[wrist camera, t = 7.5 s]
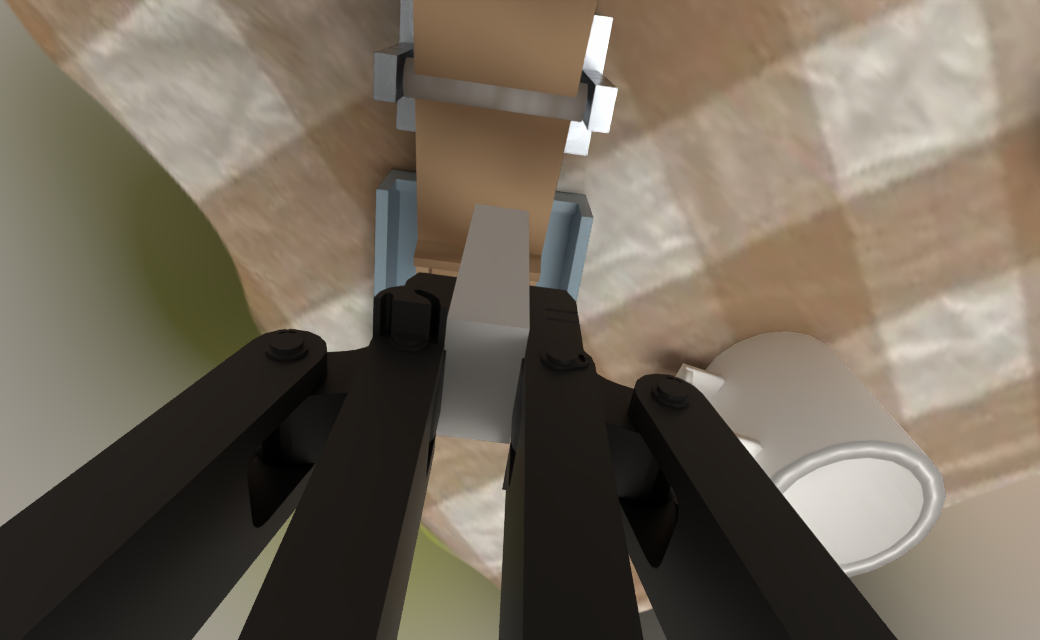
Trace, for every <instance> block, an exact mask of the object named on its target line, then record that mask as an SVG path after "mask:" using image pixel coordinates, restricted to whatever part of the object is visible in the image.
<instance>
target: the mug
mask: <svg viewBox="0 0 1040 640" xmlns="http://www.w3.org/2000/svg"><path fill="white" fill-rule="evenodd" d="M675 377H678V378H681V379H683V380H684V381H686V382H688V383H690V384H692V385H694V386H695V387H696V388H697V389H698V390H699V391H700V392H702V393H703V394H704V396H705V397H706V398H707V399H708V401H709V402H710V403H711V404H712V406H713V407H714V408H715V410H716V411H717V412H718V413H719V415H720V416H721V417H722V418H723V420H724V421H725V422H726V423H727V425H728V426H729V427H730V428H731V430H732V431H733V432H734V434H735V435H736V436H737V437H738V439H739V440H740V441H741V442H742V444H743V445H744V446H745V447H746V449H747V450H748V451H749V453H750V454H751V455H752V456H753V458H754V459H755V460H756V461H757V463H758V464H759V465H760V466H761V468H762V469H763V470H764V471H765V473H766V474H767V475H768V477H769V478H770V479H771V480H772V482H773V483H774V484H775V485H776V487H777V488H778V489H779V490H780V492H781V493H782V494H783V495H784V497H785V498H786V499H787V501H788V502H789V503H790V504H791V506H792V507H793V508H794V509H795V511H796V512H797V513H798V514H799V516H800V517H801V518H802V519H803V521H804V522H805V523H806V525H807V526H808V527H809V528H810V530H811V531H812V532H813V533H814V535H815V536H816V537H817V538H818V540H819V541H820V542H821V543H822V545H823V546H824V547H825V549H826V550H827V551H828V552H829V554H830V555H831V556H832V557H833V559H834V560H835V561H836V562H837V564H838V565H839V566H840V567H841V569H842V570H843V571H844V573H845V574H846V575H847V576H848V577H852V576H855V575H859V574H863V573H866V572H870V571H873V570H876V569H878V568H880V567H882V566H884V565H886V564H888V563H890V562H892V561H894V560H896V559H898V558H900V557H902V556H903V555H904V554H905V553H907V552H908V551H909V550H910V549H912V548H913V547H914V546H915V545H917V544H918V543H919V542H921V541H922V540H923V539H924V538H925V537H926V535H927V534H928V532H929V531H930V530H931V528H932V527H933V526H934V524H935V523H936V522H937V520H938V519H939V517H940V514H941V510H942V507H943V504H944V500H945V497H946V494H945V488H944V482H943V476H942V474H941V472H940V471H939V470H938V469H937V467H936V466H935V465H934V464H933V462H932V461H931V460H930V459H929V457H928V456H927V455H926V454H925V453H924V452H923V450H922V449H921V448H920V447H919V446H918V445H917V444H916V443H915V442H914V440H913V439H912V438H911V437H910V436H909V435H908V434H907V433H906V431H905V430H904V429H903V428H902V427H901V426H900V425H899V424H898V423H897V421H896V420H895V419H894V418H893V417H892V416H891V415H890V414H889V412H888V411H887V410H886V409H885V408H884V407H883V406H882V405H881V404H880V402H879V401H878V400H877V399H876V398H875V397H874V396H873V395H872V393H871V392H870V391H869V390H868V389H867V388H866V387H865V386H864V384H863V383H862V382H861V381H860V380H859V379H858V378H857V377H856V376H855V374H854V373H853V372H852V371H851V370H850V369H849V368H848V367H847V365H846V364H845V363H844V362H843V361H842V360H841V359H840V358H839V357H838V355H837V354H836V353H835V352H834V351H833V350H832V349H831V348H830V346H829V345H827V344H825V343H823V342H822V341H820V340H818V339H816V338H814V337H812V336H811V335H807V334H801V333H796V332H790V331H780V332H771V333H761V334H758V335H756V336H753V337H750V338H748V339H745V340H742V341H740V342H737V343H735V344H734V345H732V346H731V347H730V348H728V349H727V350H725V351H724V352H722V353H721V354H719V355H718V356H717V357H715V359H714V360H713V361H712V362H711V363H710V365H709V366H708V367H707V368H706V369H705V370H703V369H700V368H697V367H694V366H691V365H687V364H684V363H683V364H682V366H681V368H680V369H679V371H678V373H677V375H676V376H675Z"/></svg>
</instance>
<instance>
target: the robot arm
mask: <svg viewBox="0 0 1040 640" xmlns="http://www.w3.org/2000/svg"><path fill="white" fill-rule="evenodd" d="M577 314H578V311H577V305H576V301H575V300H574V299H573V297H572V296H571V295H570V294H569V293H568V292H567V291H566V290H561V289H553V288H546V287H539V286H531V285H529V211H524V210H517V209H510V208H503V207H496V206H489V205H482V204H475V208H474V212H473V216H472V220H471V224H470V228H469V232H468V236H467V240H466V244H465V248H464V252H463V256H462V260H461V264H460V268H459V272H458V276H457V277H453V276H445V275H438V274H430V273H423V272H419V273H417V274H416V275H414V276H412V277H411V278H409V279H408V280H407V281H406V283H405V285H402V286H395V287H389V288H387V289H384V290H382V291H380V292H379V293H378V294H377V295H376V296H375V297H374V308H373V337H372V340H371V342H370V344H369V346H367V347H365V348H361V349H357V350H350V351H340V352H327V347H326V342H325V341H324V340H323V339H322V338H321V337H320V336H318V335H316V334H313V333H311V332H308V331H302V330H296V329H289V330H287V329H283V330H277V331H273V332H269V333H265V334H263V335H261V336H259V337H257V338H255V339H254V340H252V341H251V342H249V343H248V344H247V345H245V346H244V347H243V348H241V349H240V350H239V351H237V352H236V353H235V354H233V355H232V356H231V357H229V358H228V359H226V360H225V361H224V362H222V363H221V364H220V365H218V366H217V367H216V368H214V369H213V370H211V371H210V372H209V373H207V374H206V375H205V376H203V377H202V378H201V379H199V380H198V381H197V382H195V383H194V384H193V385H191V386H190V387H188V388H187V389H186V390H185V391H183V392H182V393H180V394H179V395H178V396H176V397H175V398H174V399H173V400H171V401H170V402H168V403H167V404H166V405H164V406H163V407H162V408H160V409H159V410H157V411H156V412H155V413H153V414H152V415H151V416H149V417H148V418H147V419H145V420H144V421H143V422H141V423H140V424H139V425H137V426H136V427H135V428H133V429H132V430H131V431H129V432H128V433H126V434H125V435H124V436H122V437H121V438H120V439H118V440H117V441H116V442H114V443H113V444H112V445H110V446H109V447H108V448H106V449H105V450H104V451H102V452H101V453H99V454H98V455H97V456H96V457H94V458H93V459H92V460H90V461H89V462H87V463H86V464H85V465H83V466H82V467H81V468H79V469H78V470H77V471H75V472H74V473H72V474H71V475H70V476H68V477H67V478H66V479H64V480H63V481H62V482H60V483H59V484H58V485H56V486H55V487H54V488H52V489H51V490H50V491H48V492H47V493H45V494H44V495H43V496H41V497H40V498H39V499H37V500H36V501H35V502H33V503H32V504H31V505H29V506H28V507H27V508H25V509H24V510H22V511H21V512H20V513H18V514H17V515H16V516H14V517H13V518H12V519H10V520H9V521H8V522H6V523H5V524H4V525H2V526H1V527H0V640H192V638H193V637H194V636H195V635H196V633H197V632H198V631H199V630H200V628H201V627H202V626H203V625H204V623H205V622H206V621H207V620H208V618H209V617H210V616H211V615H212V613H213V612H214V611H215V610H216V608H217V607H218V606H219V605H220V603H221V602H222V601H223V600H224V598H225V597H226V596H227V595H228V593H229V592H230V591H231V589H232V588H233V587H234V585H235V584H236V583H237V582H238V581H239V579H240V578H241V577H242V576H243V574H244V573H245V572H246V571H247V569H248V568H249V567H250V565H251V564H252V563H253V562H254V561H255V559H256V558H257V557H258V556H259V554H260V553H261V552H262V551H263V549H264V548H265V547H266V546H267V544H268V543H269V542H270V541H271V539H272V538H273V537H274V536H275V534H276V533H277V532H278V531H279V529H280V528H281V527H282V525H283V524H284V523H285V522H286V520H287V519H288V518H289V517H290V515H291V514H292V513H293V511H294V510H295V509H296V510H295V513H294V515H293V517H292V520H291V522H290V524H289V526H288V528H287V531H286V533H285V535H284V537H283V540H282V542H281V544H280V546H279V548H278V551H277V553H276V555H275V557H274V560H273V562H272V564H271V567H270V569H269V571H268V573H267V575H266V578H265V580H264V582H263V584H262V587H261V589H260V591H259V594H258V596H257V598H256V600H255V602H254V605H253V607H252V609H251V611H250V614H249V616H248V618H247V620H246V623H245V625H244V627H243V629H242V632H241V634H240V636H239V639H238V640H397V635H398V630H399V625H400V620H401V615H402V610H403V605H404V600H405V595H406V590H407V585H408V580H409V575H410V570H411V565H412V560H413V555H414V550H415V545H416V540H417V535H418V530H419V525H420V520H421V515H422V510H423V505H424V500H425V495H426V490H427V485H428V480H429V475H430V470H431V465H432V460H433V455H434V448H435V437H436V435H440V436H449V437H457V438H466V439H474V440H482V441H491V442H499V443H508V444H509V443H510V438H511V443H510V449H509V454H508V460H507V466H506V471H505V477H504V483H503V488H502V490H506V499H505V520H504V541H503V561H502V582H501V603H500V624H499V640H643V635H642V630H641V623H640V618H639V612H638V606H637V601H636V595H635V589H634V583H633V578H632V572H631V566H630V561H629V556H630V558H631V561H632V563H633V565H634V567H635V569H636V572H637V574H638V576H639V578H640V581H641V583H642V585H643V587H644V589H645V592H646V594H647V596H648V598H649V601H650V603H651V605H652V607H653V610H654V612H655V613H656V616H657V618H658V621H659V623H660V625H661V627H662V630H663V632H664V634H665V636H666V638H667V640H897V638H896V637H895V636H894V634H893V633H892V632H891V631H890V630H889V628H888V627H887V626H886V624H885V623H884V622H883V621H882V619H881V618H880V617H879V616H878V614H877V613H876V612H875V611H874V609H873V608H872V607H871V605H870V604H869V603H868V602H867V600H866V599H865V598H864V597H863V595H862V594H861V593H860V591H859V590H858V589H857V588H856V586H855V585H854V584H853V583H852V582H851V580H850V579H849V578H848V576H847V575H846V574H845V573H844V571H843V570H842V569H841V567H840V566H839V565H838V564H837V562H836V561H835V560H834V559H833V557H832V556H831V555H830V554H829V552H828V551H827V550H826V549H825V547H824V546H823V545H822V543H821V542H820V541H819V540H818V538H817V537H816V536H815V535H814V533H813V532H812V531H811V530H810V528H809V527H808V526H807V525H806V523H805V522H804V521H803V519H802V518H801V517H800V516H799V514H798V513H797V512H796V511H795V509H794V508H793V507H792V506H791V504H790V503H789V502H788V501H787V499H786V498H785V497H784V495H783V494H782V493H781V492H780V490H779V489H778V488H777V487H776V485H775V484H774V483H773V482H772V480H771V479H770V478H769V477H768V475H767V474H766V473H765V471H764V470H763V469H762V468H761V466H760V465H759V464H758V463H757V461H756V460H755V459H754V458H753V456H752V455H751V454H750V453H749V451H748V450H747V449H746V447H745V446H744V445H743V444H742V442H741V441H740V440H739V439H738V437H737V436H736V435H735V434H734V432H733V431H732V430H731V428H730V427H729V426H728V425H727V423H726V422H725V421H724V420H723V418H722V417H721V416H720V415H719V413H718V412H717V411H716V410H715V408H714V407H713V406H712V404H711V403H710V402H709V401H708V399H707V398H706V397H705V396H704V394H703V393H702V392H700V391H699V390H698V389H697V388H696V387H695V386H694V385H692V384H690V383H688V382H686V381H684V380H683V379H681V378H678V377H674V376H671V375H664V374H650V375H644V376H643V377H641V378H640V379H638V380H637V382H636V384H635V387H634V389H632V388H629V387H626V386H623V385H620V384H617V383H615V382H612V381H610V380H607V379H605V378H604V377H602V376H600V375H598V374H597V373H596V367H595V364H594V362H593V360H592V358H591V356H589V355H588V354H587V353H586V352H585V351H584V350H583V343H582V337H581V330H580V324H579V318H578V315H577ZM628 554H629V555H628Z"/></svg>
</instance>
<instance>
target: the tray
mask: <svg viewBox="0 0 1040 640" xmlns="http://www.w3.org/2000/svg"><path fill="white" fill-rule="evenodd" d="M592 223H593V215H592V212H591V209H590V206H589V203H588V200H587V197H586V195H579V194H572V193H565V192H557V191H556V192H555V196H554V201H553V205H552V210H551V214H550V219H549V223H548V228H547V232H546V237H545V242H544V246H543V251H542V255H541V274H540V278H539V282H536V286H539V287H546V288H553V289H561V290H566V291H567V292H568V293H569V294H570V295H571V296H572V297H573V299H574V300H575V301H577V296H578V291H579V286H580V281H581V277H582V272H583V267H584V262H585V257H586V252H587V247H588V242H589V237H590V233H591V228H592ZM417 240H418V231H417V179H416V172H410V171H403V170H395V169H392V170H391V171H390V172H389V173H388V175H387V176H386V177H385V179H384V180H383V181H382V182H381V184H380V185H379V186H378V188H377V189H376V229H375V278H374V297H375V296H376V295H377V294H378V293H379V292H380V291H382V290H384V289H387V288H389V287H395V286H402V285H405V283H406V281H407V280H408V279H409V278H411V277H412V276H414V275H416V267H415V266H414V259H413V257H414V253H415V249H416V244H417Z"/></svg>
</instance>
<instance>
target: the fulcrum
mask: <svg viewBox="0 0 1040 640" xmlns="http://www.w3.org/2000/svg"><path fill="white" fill-rule="evenodd" d="M612 21H613V18H611V17H605V16H599V15H594V19H593V24H592V28H591V33H590V37H589V42H588V46H587V51H586V55H585V60H584V64H583V69H582V73H581V78H580V83H585V84H588V93H587V101H586V107H585V112H584V116H583V119H582V122H575V121H571V123H570V128H569V133H568V137H567V142H566V146H565V151H564V153H570V154H577V155H584V156H587V153H588V148H589V143H590V137H591V132H592V131H596V132H603V133H609V129H610V124H611V119H612V114H613V109H614V104H615V99H616V94H617V89H618V88H617V87H616V86H614V85H613V84H612V83H611V82H610V81H609V80H608V79H607V78H606V77H604V76H603V75H602V74H603V68H604V63H605V58H606V53H607V47H608V42H609V37H610V31H611V26H612ZM407 57H409V58H414V22H413V0H401V8H400V37H399V44H397V45H394V46H391V47H388V48H385V49H382V50H379V51H377V52H374V89H373V100H379V101H386V102H393V103H396V102H397V122H396V129H399V130H406V131H413V132H416V127H415V98H408V97H404V93H403V72H404V65H405V60H406V58H407Z"/></svg>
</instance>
